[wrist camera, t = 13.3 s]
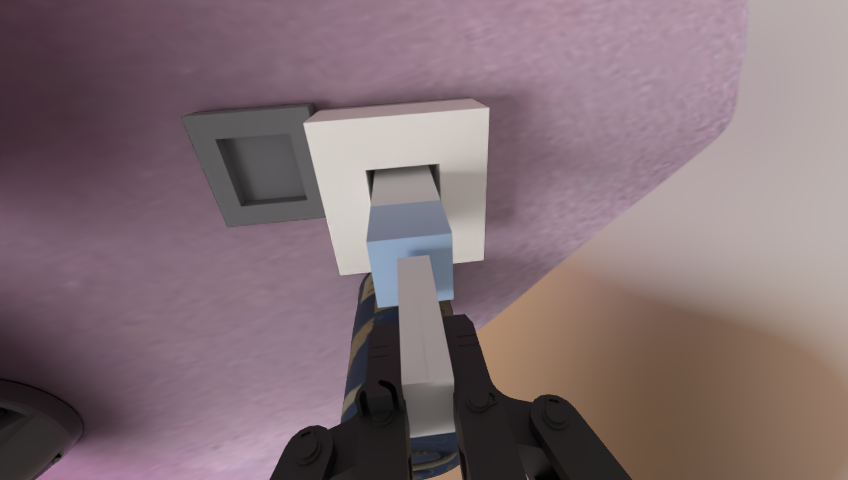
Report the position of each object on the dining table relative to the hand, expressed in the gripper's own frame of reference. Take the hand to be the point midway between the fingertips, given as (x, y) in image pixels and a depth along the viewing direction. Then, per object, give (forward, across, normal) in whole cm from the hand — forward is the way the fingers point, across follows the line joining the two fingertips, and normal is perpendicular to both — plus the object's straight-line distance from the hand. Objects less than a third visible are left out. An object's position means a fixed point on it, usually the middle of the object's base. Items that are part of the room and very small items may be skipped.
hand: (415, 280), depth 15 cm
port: (+16, 0, 0) cm, 16 cm away
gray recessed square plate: (+16, -11, +2) cm, 19 cm away
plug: (+15, 0, 0) cm, 15 cm away
